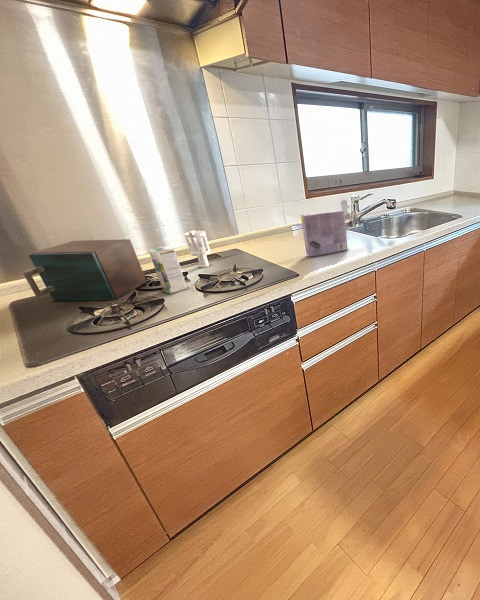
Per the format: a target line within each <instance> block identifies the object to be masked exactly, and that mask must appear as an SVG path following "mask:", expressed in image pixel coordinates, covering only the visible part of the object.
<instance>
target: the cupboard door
mask: <svg viewBox="0 0 480 600" xmlns="http://www.w3.org/2000/svg"><path fill="white" fill-rule="evenodd" d="M28 257H29V259H30V261H31V262H32V264H33V266H34V267H33V268H30V269H27V270H24V271H21V273H22V275H23V276H24V278H25V280H26V282H27V284H28V285H29V287H30V289H31V290H32V293H33V294H34V296H35V297H36V298H39V297H43V296H45V295H47V294H49V296H50V297H51V298H52V300H53V301H54V302H60V301H61V302H63V301H64V302H67V301H110V300H111V301H112V300H115V299H116V298H115V296H114V294H113V291H112V289H111V287H110V285H109V283H108V280H107V278H106V276H105V274H104V272H103V270H102V267H101V265H100V263H99V261H98V259H97V256H96V254H95V252H82V253H40V254H32V253H28ZM37 274H38V275H39V277H40V279H41V280H42V283H43V285H44V286H45V287H44V288H39V286H38V284H37V283H36V281H35V279H34V277H33V276H34V275H37Z"/></svg>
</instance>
